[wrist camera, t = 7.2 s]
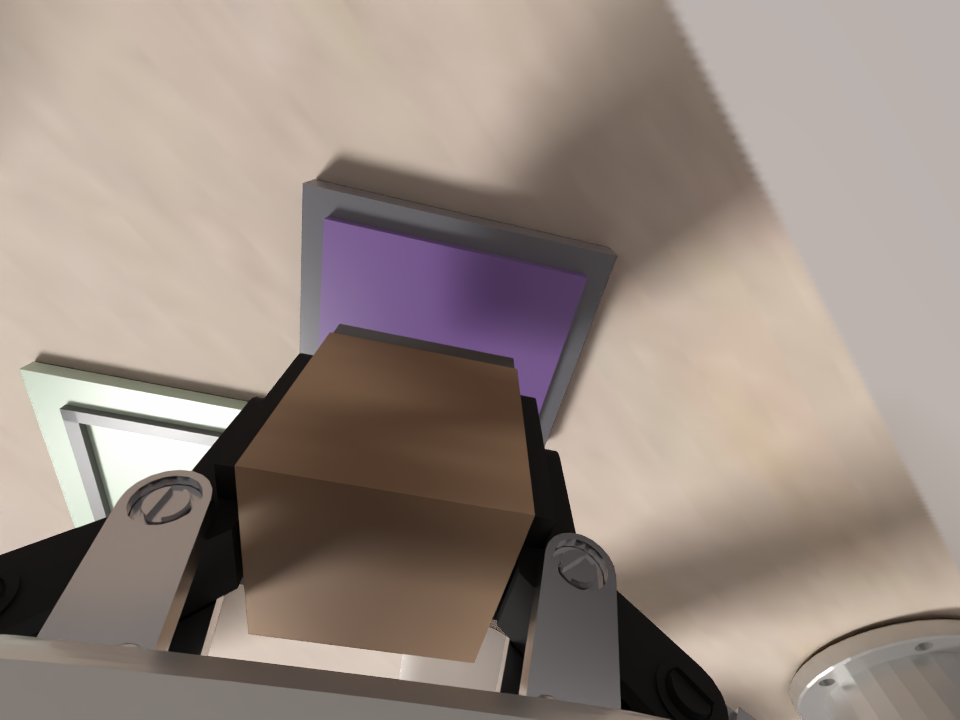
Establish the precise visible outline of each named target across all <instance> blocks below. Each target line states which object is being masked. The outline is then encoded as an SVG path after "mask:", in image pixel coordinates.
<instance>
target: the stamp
mask: <svg viewBox="0 0 960 720" xmlns="http://www.w3.org/2000/svg"><path fill="white" fill-rule="evenodd" d="M235 477H236V490H237V502H238V514H239V526H240V538H241V551H242V563H243V575H244V587H245V600H246V612H247V624H248V634H251V635H259V636H267V637H275V638H282V639H290V640H298V641H306V642H313V643H321V644H329V645H337V646H344V647H352V648H360V649H368V650H375V651H383V652H391V653H399V654H406V655H414V656H422V657H430V658H437V659H445V660H453V661H460V662H468V663H475V660H476V658H477V655H478V653H479V650H480V648H481V645H482V643H483V641H484V638H485V636H486V633H487V631H488V628H489V626H490V624H491V621H492V619H493V616H494V614H495V611H496V609H497V606H498V604H499V602H500V599H501V597H502V594H503V592H504V589H505V587H506V585H507V582H508V580H509V577H510V575H511V572H512V570H513V568H514V565H515V563H516V560H517V558H518V555H519V553H520V550H521V548H522V546H523V543H524V541H525V538H526V536H527V533H528V531H529V529H530V526H531V524H532V521H533V519H534V516H535V511H534V503H533V495H532V486H531V478H530V470H529V462H528V453H527V445H526V437H525V429H524V420H523V412H522V404H521V395H520V387H519V379H518V371H517V369H515V368H514V359H513V358H510V357H505V356H500V355H495V354H490V353H485V352H480V351H475V350H470V349H465V348H460V347H455V346H450V345H445V344H440V343H435V342H430V341H425V340H420V339H415V338H410V337H405V336H399V335H394V334H389V333H384V332H379V331H374V330H369V329H364V328H359V327H354V326H349V325H344V324H339V325H338V327H337V328H336V329H335V331H334V332H333V333H332V332H330V333H329V334H328V336H327V337H326V338H325V340H324V341H323V343H322V344H321V345H320V347H319V348H318V350H317V351H316V352H315V354H314V355H313V357H312V358H311V359H310V361H309V362H308V364H307V365H306V366H305V368H304V369H303V371H302V372H301V373H300V375H299V376H298V378H297V379H296V380H295V382H294V383H293V385H292V386H291V387H290V389H289V390H288V392H287V393H286V394H285V396H284V397H283V399H282V400H281V401H280V403H279V404H278V406H277V407H276V408H275V410H274V411H273V413H272V414H271V415H270V417H269V418H268V420H267V421H266V422H265V424H264V425H263V427H262V428H261V429H260V431H259V432H258V434H257V435H256V436H255V438H254V439H253V441H252V442H251V443H250V445H249V446H248V448H247V449H246V450H245V452H244V453H243V455H242V456H241V457H240V459H239V460H238V462H237V463H236V464H235Z"/></svg>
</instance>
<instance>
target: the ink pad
mask: <svg viewBox="0 0 960 720" xmlns="http://www.w3.org/2000/svg"><path fill="white" fill-rule="evenodd" d="M616 258H617V255H616V254H615V253H614V252H613V251H612V250H611V249H610V248H608V247H604V246H599V245H595V244H591V243H586V242H582V241H578V240H574V239H569V238H565V237H561V236H556V235H552V234H548V233H543V232H539V231H535V230H531V229H526V228H522V227H518V226H513V225H509V224H505V223H500V222H496V221H492V220H488V219H483V218H479V217H475V216H470V215H466V214H462V213H457V212H453V211H449V210H445V209H440V208H436V207H432V206H427V205H423V204H419V203H414V202H410V201H406V200H402V199H397V198H393V197H389V196H384V195H380V194H376V193H371V192H367V191H363V190H359V189H354V188H350V187H346V186H341V185H337V184H333V183H328V182H324V181H320V180H316V179H314V180H311V181H308V182H305V183H303V199H302V254H301V309H300V353H304V354H309V355H314V354H315V352H316V351H317V350H318V348H319V347H320V345H321V344H322V343H323V341H324V340H325V338H326V337H327V336H328V334H329V333H330V332H332V333H333V332H334V331H335V329H336V328H337V327H338V325H339V324H344V325H349V326H354V327H359V328H364V329H369V330H374V331H379V332H384V333H389V334H394V335H399V336H405V337H410V338H415V339H420V340H425V341H430V342H435V343H440V344H445V345H450V346H455V347H460V348H465V349H470V350H475V351H480V352H485V353H490V354H495V355H500V356H505V357H510V358H513V359H514V368H515V369H517V371H518V379H519V387H520V395H523V396H528V397H533V398H536V401H537V407H538V413H539V419H540V424H541V430H542V436H543V442H544V447H545V444H546V442H547V439H548V436H549V434H550V431H551V428H552V426H553V423H554V421H555V418H556V415H557V413H558V410H559V407H560V405H561V402H562V400H563V397H564V394H565V392H566V389H567V386H568V384H569V381H570V379H571V376H572V373H573V371H574V368H575V365H576V363H577V360H578V357H579V355H580V352H581V350H582V347H583V344H584V342H585V339H586V336H587V334H588V331H589V329H590V326H591V323H592V321H593V318H594V315H595V313H596V310H597V308H598V305H599V302H600V300H601V297H602V294H603V292H604V289H605V287H606V284H607V281H608V279H609V276H610V273H611V271H612V268H613V266H614V263H615V260H616Z"/></svg>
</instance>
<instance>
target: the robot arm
mask: <svg viewBox="0 0 960 720" xmlns="http://www.w3.org/2000/svg"><path fill="white" fill-rule="evenodd" d="M312 357H313V355H309V354H304V353H300V354H299V355H298V356H297V357H296V358H295V360H294V361H293V362H292V364H291V365H290V366H289V367H288V369H287V370H286V371H285V373H284V374H283V375H282V376H281V378H280V379H279V380H278V382H277V383H276V384H275V385H274V387H273V388H272V389H271V391H270V392H269V393H268V394H267V396H266V397H265V398H259V397H254V398H252V399H251V400H250V401H249V402H248V403H247V404H246V405H245V406H244V408H243V409H242V410H241V411H240V412H239V414H238V415H237V416H236V417H235V419H234V420H233V421H232V422H231V423H230V425H229V426H228V427H227V428H226V429H225V431H224V432H223V433H222V434H221V436H220V437H219V438H218V439H217V440H216V442H215V443H214V444H213V445H212V446H211V448H210V449H209V450H208V451H207V453H206V454H205V455H204V456H203V457H202V459H201V460H200V461H199V462H198V463H197V465H196V466H195V467H194V468H193V470H192V471H187V470H173V471H165V472H161V473H158V474H154V475H151V476H149V477H147V478H145V479H143V480H140V481H138V482H137V483H135V484H134V485H133V486H131V487H130V488H129V489H127V490H126V491H125V493H124V494H123V495H122V496H121V497H120V499H119V500H118V501H117V503H116V505H115V506H114V508H113V510H112V511H111V513H110V515H109V516H108V517H105V518H103V519H100V520H97V521H94V522H91V523H89V524H86V525H83V526H80V527H78V528H75V529H72V530H69V531H66V532H64V533H61V534H58V535H55V536H52V537H50V538H47V539H44V540H41V541H38V542H36V543H33V544H30V545H27V546H24V547H22V548H19V549H16V550H13V551H10V552H8V553H5V554H2V555H0V720H755V719H754V718H753V717H751V716H750V715H749V714H747V713H746V712H745V711H743V710H742V709H741V708H740V707H738V708H737V709H736V710H734V711H733V710H732V709H731V708H729V707H728V706H727V705H726V704H725V701H724V699H723V696H722V694H721V692H720V691H719V689H718V688H717V686H716V684H715V683H714V681H713V680H712V678H711V677H710V676H709V675H708V674H707V673H706V672H705V671H704V670H703V669H702V668H701V667H700V666H699V665H698V664H697V663H696V662H695V661H694V660H693V659H692V658H690V657H689V656H688V655H687V654H686V653H685V652H684V651H683V650H682V649H681V648H680V647H678V646H677V645H676V644H675V643H674V642H673V641H672V640H671V639H670V638H669V637H667V636H666V635H665V634H664V633H663V632H662V631H661V630H660V629H659V628H658V627H656V626H655V625H654V624H653V623H652V622H651V621H650V620H649V619H648V618H647V617H646V616H644V615H643V614H642V613H641V612H640V611H639V610H638V609H637V608H636V607H635V606H633V605H632V604H631V603H630V602H629V601H628V600H627V599H626V598H625V597H624V596H622V595H621V594H620V593H619V592H618V591H617V589H616V574H615V569H614V565H613V563H612V561H611V560H610V558H609V556H608V555H607V553H606V552H605V551H604V550H603V549H602V548H601V547H600V546H599V545H598V544H596V543H595V542H594V541H593V540H591V539H589V538H587V537H585V536H583V535H579V534H576V532H575V528H574V523H573V518H572V513H571V509H570V504H569V499H568V494H567V490H566V485H565V480H564V476H563V471H562V466H561V461H560V457H559V454H558V452H557V451H553V450H547V449H545V448H544V442H543V436H542V430H541V424H540V419H539V413H538V407H537V401H536V398H533V397H528V396H523V395H521V404H522V412H523V420H524V429H525V437H526V445H527V453H528V462H529V470H530V478H531V486H532V495H533V503H534V511H535V516H534V519H533V521H532V524H531V526H530V529H529V531H528V533H527V536H526V538H525V541H524V543H523V546H522V548H521V550H520V553H519V555H518V558H517V560H516V563H515V565H514V568H513V570H512V572H511V575H510V577H509V580H508V582H507V585H506V587H505V589H504V592H503V594H502V597H501V599H500V602H499V604H498V606H497V609H496V611H495V614H494V616H493V620H497V625H498V626H499V627H500V628H501V630H502V631H503V632H504V633H505V634H506V635H507V636H506V640H505V645H504V651H503V656H502V661H501V667H500V672H499V677H498V682H497V688H496V692H493V691H485V690H477V689H469V688H462V687H454V686H446V685H439V684H431V683H423V682H415V681H407V680H399V679H391V678H383V677H375V676H367V675H359V674H351V673H343V672H335V671H327V670H318V669H310V668H302V667H294V666H286V665H278V664H270V663H262V662H253V661H245V660H236V659H228V658H220V657H211V656H208V654H209V650H210V646H211V643H212V639H213V636H214V632H215V628H216V625H217V621H218V618H219V614H220V610H221V607H222V603H223V600H224V595H226V594H228V593H229V592H231V591H233V590H235V589H237V588H238V586H239V584H243V585H244V575H243V563H242V551H241V538H240V526H239V514H238V502H237V490H236V477H235V464H236V463H237V462H238V460H239V459H240V457H241V456H242V455H243V453H244V452H245V450H246V449H247V448H248V446H249V445H250V443H251V442H252V441H253V439H254V438H255V436H256V435H257V434H258V432H259V431H260V429H261V428H262V427H263V425H264V424H265V422H266V421H267V420H268V418H269V417H270V415H271V414H272V413H273V411H274V410H275V408H276V407H277V406H278V404H279V403H280V401H281V400H282V399H283V397H284V396H285V394H286V393H287V392H288V390H289V389H290V387H291V386H292V385H293V383H294V382H295V380H296V379H297V378H298V376H299V375H300V373H301V372H302V371H303V369H304V368H305V366H306V365H307V364H308V362H309V361H310V359H311V358H312ZM789 695H790V698H791V700H792V703H793V705H794V707H795V709H796V711H797V713H798V714H799V716H800V717H801V719H802V720H960V620H953V619H932V620H917V621H910V622H904V623H898V624H892V625H888V626H884V627H880V628H876V629H872V630H869V631H866V632H863V633H860V634H857V635H854V636H852V637H849V638H847V639H844V640H842V641H840V642H838V643H836V644H834V645H831V646H830V647H828V648H826V649H825V650H823V651H821V652H820V653H818V654H816V655H815V656H814V657H812V658H811V659H810V660H809V661H807V662H806V663H805V664H804V665H803V666H802V667H801V668H800V669H799V671H798V672H797V673H796V674H795V676H794V678H793V680H792V682H791V685H790V694H789Z"/></svg>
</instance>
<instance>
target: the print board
mask: <svg viewBox="0 0 960 720" xmlns="http://www.w3.org/2000/svg"><path fill="white" fill-rule="evenodd" d="M19 370H20V372H21V375H22V378H23V381H24V384H25V387H26V389H27V392H28V395H29V398H30V401H31V404H32V407H33V409H34V412H35V415H36V418H37V421H38V424H39V426H40V429H41V432H42V435H43V438H44V441H45V444H46V446H47V449H48V452H49V455H50V458H51V461H52V463H53V466H54V469H55V472H56V475H57V478H58V481H59V483H60V486H61V489H62V492H63V495H64V498H65V500H66V503H67V506H68V509H69V512H70V515H71V518H72V520H73V523H74V526H75V528H78V527H80V526H83V525H86V524H89V523H91V522H94V521H97V520H100V519H103V518H105V517H108V516H109V515H110V513H111V511H112V510H113V508H114V506H115V505H116V503H117V501H118V500H119V499H120V497H121V496H122V495H123V494H124V493H125V491H126V490H127V489H129V488H130V487H131V486H133V485H134V484H135V483H137V482H138V481H140V480H143V479H145V478H147V477H149V476H151V475H154V474H158V473H161V472H165V471H173V470H187V471H192V470H193V468H194V467H195V466H196V465H197V463H198V462H199V461H200V460H201V459H202V457H203V456H204V455H205V454H206V453H207V451H208V450H209V449H210V448H211V446H212V445H213V444H214V443H215V442H216V440H217V439H218V438H219V437H220V436H221V434H222V433H223V432H224V431H225V429H226V428H227V427H228V426H229V425H230V423H231V422H232V421H233V420H234V419H235V417H236V416H237V415H238V414H239V412H240V411H241V410H242V409H243V408H244V406H245V405H246V404H247V403H248V402H247V401H242V400H236V399H231V398H226V397H220V396H215V395H210V394H204V393H199V392H193V391H188V390H183V389H177V388H172V387H167V386H161V385H156V384H151V383H145V382H140V381H135V380H129V379H124V378H118V377H113V376H108V375H102V374H97V373H92V372H86V371H81V370H76V369H70V368H65V367H59V366H54V365H49V364H43V363H38V362H32V363H30V364H28V365H26V366H24V367H22V368H21V369H19Z"/></svg>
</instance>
